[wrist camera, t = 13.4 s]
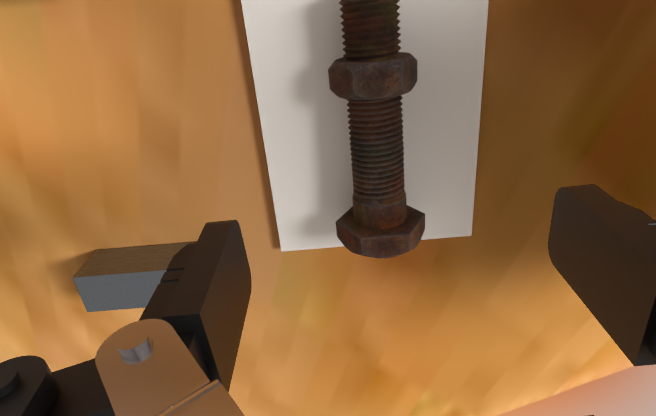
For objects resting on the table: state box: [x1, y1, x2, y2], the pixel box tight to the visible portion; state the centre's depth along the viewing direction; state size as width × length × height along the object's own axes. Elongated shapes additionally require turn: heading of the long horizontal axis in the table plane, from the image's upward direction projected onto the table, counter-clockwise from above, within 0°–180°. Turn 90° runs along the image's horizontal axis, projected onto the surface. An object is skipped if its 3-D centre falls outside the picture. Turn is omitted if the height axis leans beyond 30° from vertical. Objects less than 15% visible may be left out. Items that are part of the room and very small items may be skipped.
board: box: [241, 0, 489, 252], centre depth 28 cm, size 14×20×1 cm
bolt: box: [328, 0, 425, 258], centre depth 26 cm, size 6×5×15 cm
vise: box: [73, 242, 197, 312], centre depth 26 cm, size 10×30×4 cm, turn 5°
